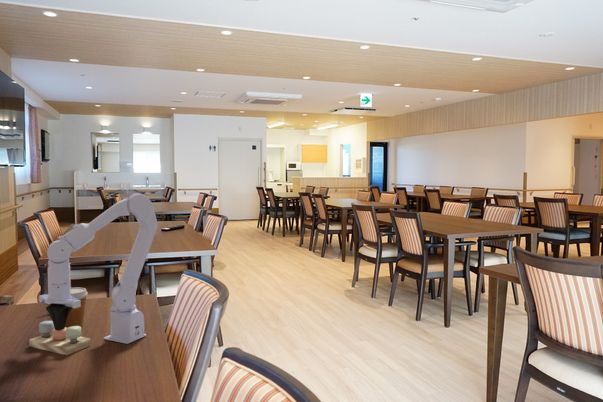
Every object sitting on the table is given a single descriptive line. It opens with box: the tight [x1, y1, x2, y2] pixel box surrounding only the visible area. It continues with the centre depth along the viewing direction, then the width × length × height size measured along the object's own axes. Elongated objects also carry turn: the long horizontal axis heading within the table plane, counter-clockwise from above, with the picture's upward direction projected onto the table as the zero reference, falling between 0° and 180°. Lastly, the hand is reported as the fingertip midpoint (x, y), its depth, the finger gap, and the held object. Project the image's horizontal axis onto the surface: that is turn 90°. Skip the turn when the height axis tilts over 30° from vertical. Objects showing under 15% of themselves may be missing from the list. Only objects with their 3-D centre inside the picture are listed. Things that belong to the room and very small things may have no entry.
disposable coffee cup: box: [65, 286, 89, 328], centre depth 146 cm, size 10×10×12 cm
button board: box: [28, 332, 92, 356], centre depth 130 cm, size 15×8×2 cm, turn 66°
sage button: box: [66, 326, 82, 344], centre depth 128 cm, size 4×4×4 cm
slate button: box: [38, 320, 55, 338], centre depth 132 cm, size 4×4×4 cm
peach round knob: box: [52, 327, 66, 341], centre depth 130 cm, size 4×4×4 cm
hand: (59, 329), depth 130 cm, fingers closed, pressing on peach round knob
